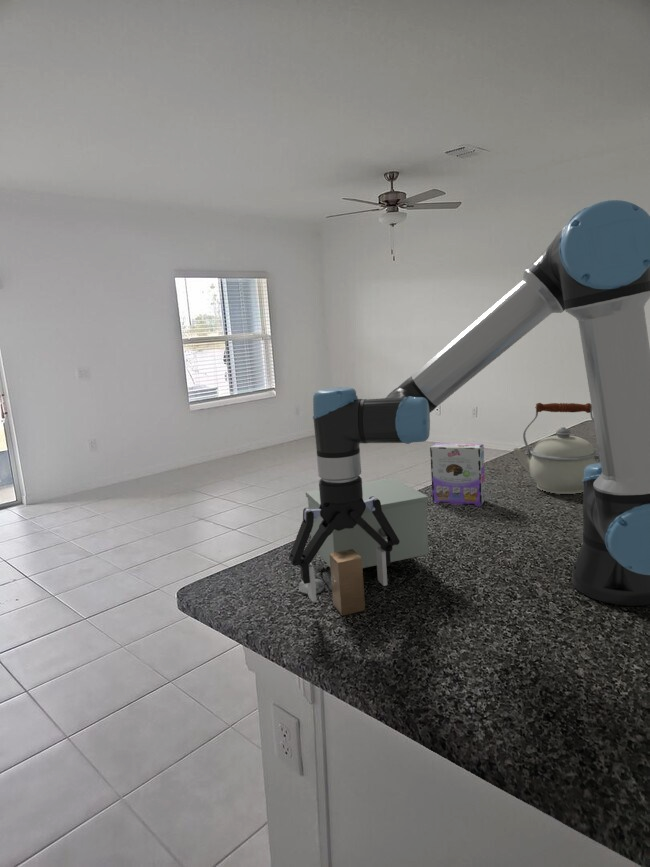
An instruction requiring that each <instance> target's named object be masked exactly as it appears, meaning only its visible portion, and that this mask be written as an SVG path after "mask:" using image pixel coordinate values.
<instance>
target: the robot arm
mask: <svg viewBox="0 0 650 867" xmlns="http://www.w3.org/2000/svg"><path fill="white" fill-rule="evenodd" d="M649 300H650V214H649V213H648V212H647V211H646V210H645V209H643V208H642V207H640V206H638V205H637V204H635V203H633V202H629V201H626V200H622V199H620V200H619V199H612V200H611V199H609V200H604V201H603V200H602V201H600V202H597V203H593V204H592V205H590V206H587V207H583V209H581V210H579V211H578V212H576V214H574V215H573V216H572V217H571V218H570V219H569V220H568V221H567V223H566V224H565V226H564V227H563V228H562V229H561V230H560V231H559V232H558V233H557V234H556V236H555V237H554V239H553V240H552V241H551V242H550V244H549V245H548V247H546V249H545V250H544V251H543V252H542V253H541V254H540V255H539V257H537V258H536V259H535V260H534V262H532V263H531V264H530V265H528V267H526V268H524V270H523V276H522V280H521V281H520V282H518V283H517V284H516V285H515V286H513V287H512V288H511V289H510V290H509V291H508V292H507V293H505V294H503V296H501V298H500V299H499V300H497V301H496V302H495V303H493V305H491V306H490V307H489V308H488V309H487V310H486V311H484V313H482V314H481V315H480V316H479V317H477V318H476V319H475V320H474V321H473V322H472V323H471V324H469V325H468V326H467V327H466V328H465V329H464V330H462V331H461V332H460V333H459V334H458V335H457V336H455V337H454V338H453V339H452V340H451V341H449V343H448V344H446V345H445V346H444V347H443V348H441V349H440V350H439V351H438V352H437V353H435V355H434V356H433V357H431V358H430V359H429V360H428V361H426V362H425V363H424V364H423V365H422V366H421V367H420V368H418V369H417V370H416V371H415V372H414V373H413V374H411V375H410V377H408V378H407V379H406V380H404V381H403V382H402V383H401V384H399V385H398V387H396V388H394V389H393V390H391V392H390V393H389V394H388V395H387V396H386V397H385V398H381V397H380V398H370V399H369V398H368V399H367V398H364V399H363V398H358V395H357V391H356V390H355V388H353V387H349V386H348V387H343V386H341V387H330V388H329V387H328V388H323V389H319V390H317V391H316V392H314V395H313V397H312V400H313V401H312V402H313V403H312V404H313V409H312V410H313V412H312V413H313V416H312V420H313V428H314V439H315V447H316V461H317V474H318V478H320V479H319V480H318V487H319V488H318V490H319V491H320V502H321V504H320V507H319V509H309V507H304V508H303V509H302V522H301V524H300V527H299V529H298V532H297V535H296V537H295V540H294V543H293V546H292V549H291V551H290V552H289V553H290V554H289V556H288V559H289V561H290V562H291V564H292V565H293V566H294V567H296V566H299V569H300V578H301V580H302V581H303V582H304V583H305V584H306V583H307V587H308V594H307V596H308V597H309V599H310V600H311V602H312V603H315V602H317V601H318V600H317V594H316V587H315V579H316V578H315V567H314V566H315V565H313V564H312V561H313V560H314V558H315V557H316V556H317V554H318V551H319V549H320V548H321V546H322V545H323V543H324V542H325V540H326V539H327V537H328V536H329V535H331V533H332V532H333V530H337V531H340V530H343V529H345V528H349V529H350V528H354V526H355V525H356V524H358V525H359V526H360V527H361V528H363V529H364V530H365V531H366V532H367V533H368V534H369V535H370V536H371V537H372V538H373V539H374V540H375V541H376V542H377V543H378V544H379V545H381V547H380V546H379V547H376V559H377V565H376V571H377V572H376V573H377V574H376V575H377V581H378V582H379V583H380V584H381V585H382V586H384V587H385V586H388V574H387V573H388V572H387V571H388V570H387V569H388V568H387V567H388V566H391V563H392V562H391V561H390V551H392V549H393V548H392V546H394V545H398V544H399V542H400V541H399V539H398V537H397V535H396V534H395V532H394V530H393V529H392V527H391V525H390V524H389V522H388V520H387V518H386V517H385V515H384V513H383V512H382V509H381V503H380V500H378V499H377V498H375V497H374V496H371V497H370V498H369V499H368V500H365V501H363V491H362V483H363V480H362V479H363V478H362V477H361V476H360V475H361V474H362V463H361V462H362V461H361V450H360V449H361V448H360V444H406V445H407V444H408V445H409V444H411V443H412V444H413V443H421V442H426V441H428V440H429V438H430V433H431V432H430V430H431V419H430V418H431V413H432V412H433V411H434V410H435V409H436V408H437V407H438V406H440V405H441V404H442V403H443V402H444V401H446V400H448V398H450V397H451V396H452V395H453V394H454V393H456V392H457V391H458V390H459V389H461V388H462V387H463V386H464V385H465V384H467V383H468V382H469V381H471V380H472V379H473V378H474V377H475V376H477V375H478V374H479V373H480V372H481V371H482V370H484V369H485V368H486V367H487V366H489V365H490V364H491V363H492V362H494V361H495V360H496V359H498V357H500V356H501V355H503V353H504V352H506V351H508V350H509V349H510V348H511V347H512V346H514V345H515V344H516V343H517V342H518V341H520V340H521V339H522V338H524V336H526V335H527V334H528V333H529V332H530V331H532V330H533V329H534V328H535V327H537V326H538V325H539V324H540V323H542V322H543V321H544V320H545V319H546V318H548V317H549V316H550V315H552V314H553V313H554V314H555V313H556V314H562V313H563V312H566V313H568V314H569V315H570V316H572V317H574V318H575V319H576V320H577V322H578V328H579V334H580V340H581V348H582V352H583V359H584V360H583V361H584V364H585V365H584V366H585V371H586V378H587V385H588V392H589V398H590V404H591V405H592V416H593V418H594V422H593V423H594V428H595V430H594V431H595V435H596V441H597V442H596V443H597V448H598V449H597V450H598V456H599V455H600V462H597V463H594V464H590V465H588V466H587V467H586V468H585V470H584V479H583V480H582V483H583V493H582V494H583V498H582V499H583V500H582V503H583V504H582V505H583V507H582V508H583V509H582V511H583V512H582V544H581V546H580V548H579V552H578V555H577V558H576V561H575V563H574V564H573V567H572V571H571V572H572V573H571V582H572V586H573V587H574V589H576V590H577V591H578V592H580V593H581V594H582V595H584V596H587V597H588V598H591V599H593V600H597V601H600V602H604V603H606V604H607V603H608V604H612V605H617V606H618V605H619V606H625V607H626V606H627V607H629V606H630V607H639V606H648V605H650V340H649V333H648V332H649V331H648V326H647V318H646V313H645V312H646V311H645V306H646V303H647V302H648V301H649ZM366 507H367V508H368V509H369V510H370V511H372V513H373V515H374V516H375V518H376V520H377V521H378V523H379V525H380V526H381V528H382V530H383V531H384V533H385V535H386V536H387V538H386V539H383V538H382V537H381V536H380V535H379V534H378V533H377V532H376V531H375V530H374V529H373V528H372V527H371V526H370V525H369V524H368V523H367V522H366V521H365V520H364V519H363V518H362V517H361V516H362V514H363V512H364V511H365V509H366ZM318 516H321V517H322V518H323V520H322V522H321V524H320V525H319V529H318V530H317V532H316V533H315V535H314V536H313V538H312V539H311V538H310V536H311V530H312V527H313V522H315V521H316V520H317V517H318ZM309 538H310V541H309ZM308 541H309V543H308ZM307 543H308V544H307Z"/></svg>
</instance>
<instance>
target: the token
mask: <svg viewBox="0 0 650 867" xmlns="http://www.w3.org/2000/svg"><path fill="white" fill-rule="evenodd" d="M315 587H316V595H317V594H320V593H321V592H323V590H325V581H324V580H323V579H319V578H315ZM298 591H299V592H300V593H302V594H304V595H308V587H307V583H306V584H305V583H304V582H303V580H302V581H301V582H299V583H298Z"/></svg>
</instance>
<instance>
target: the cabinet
mask: <svg viewBox="0 0 650 867" xmlns="http://www.w3.org/2000/svg"><path fill="white" fill-rule="evenodd" d="M362 491H363V501H365V500H368V499H369V498H370V497H371V496H374V497H375V498H377V499H378V500H380V503H381V509H382V512H383V513H384V515H385V517H386V518H387V520H388V522H389V524H390V525H391V527H392V529H393V530H394V532H395V534H396V535H397V537H398V539H399V541H400V542H399V544H398V545H394V546H392V548H393V549H392V551H390V561H391V563H393V562H397V561H402V560H406V559H407V560H408V559H412V558H417V557H421V556H422V557H423V556H425V555H427V556H428V555H429V553H430V552H429V534H428V531H429V529H428V509H427V508H428V504H427V502H429V496H428V495H426V494H425V493H422V492H421V491H419V490H417V489H415V488H413V487H412V486H410V485H408V484H405V483H404V482H402V481H400V480H398V479H396V478H394V477H390V478H389V477H388V478H382V479H377V480H370V481H365V482H363V481H362ZM305 497H306V498H307V505H308V507H307V508H309V509H319V507H320V504H321V502H320V491H319V489H314V490H309V491H305ZM361 517H362V518H363V519H364V520H365V521H366V522H367V523H368V524H369V525H370V526H371V527H372V528H373V529H374V530H375V531H376V532H377V533H378V534H379V535H380V536H381V537H382V538H383V539H386V538H387V536H386V535H385V533H384V531H383V530H382V528H381V526H380V525H379V523H378V521H377V520H376V518H375V516H374V515H373V513H372V511H370V510H369V509H368V508H367V507H366V509H365V511H364V512H363V514H362V516H361ZM322 520H323V518H322V517H321V516H318V517H317V520H316V521H315V522H313V527H312V530H311V533H310V540H311V539H312V538H313V536H314V535H315V533H316V532H317V530H318V529H319V525H320V524H321V522H322ZM379 546H380V547H381V545H379V544H378V543H377V542H376V541H375V540H374V539H373V538H372V537H371V536H370V535H369V534H368V533H367V532H366V531H365V530H364V529H363V528H361V527H360V526H359V525H358V524H356V525H355V526H354V528H350V529H349V528H345V529H343V530H340V531H337V530H333V532H332V533H331V535H329V536H328V537H327V539H326V540H325V542H324V543H323V545H322V546H321V548H320V549H319V551H318V552H317V554H318V555H319V556H320V557H321V558H322V559H323V561H324V562H325V563H326V564H327V565H328V567H330V555H329V554H330V553H335V552H340V551H345V550H350V549H353V550H354V551H355V552H356V553H357V554H358V555H359V556H360V557H362V569H366V568H371V567H374V566H377V559H376V547H379Z"/></svg>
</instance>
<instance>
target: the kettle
mask: <svg viewBox="0 0 650 867" xmlns="http://www.w3.org/2000/svg"><path fill="white" fill-rule="evenodd" d="M541 412H549V413H581V412H585V413H586V414H587V413H588V414H590V419H591V421H592V422H593V423H594V417H593V411H592V405H591V402H589V403H585V404H582V403H575V402H574V403H573V402H571V403H570V402H569V403H568V402H566V403H565V402H563V403H562V402H561V403H558V402H557V403H556V402H554V403H553V402H550V403H541V402H537V403H536V404H535V417H534V418H533V419H532V421H531V422H530V423H528V425H527V426H526V428H525V429H524V431H523V434H522V435H523V436H522V437H523V442H524V445H525V447H526V450H527V452H525V454H524V453H523V451H522V450H521V448H520V447H516V448H512V450H513V452H514V454H515V456H516V457H517V459H518V460H519V462H520V464H521V465H522V466H523V468H525V469H526V471H528V472H529V475H530V476H531V478H532V480H533V481H534V482H535V483H537V484H536V487H537V488H538V489H539V490H540V491H542V490H543V491H542V492H544V491H546V492H545V493H547V492H550V493H549V494H552V493H556V494H555V495H560V494H574V495H576V494H575V493H580V492H583V483H582V480H583V479H584V470H585V468H586V467H587V466H588V465H590V464H594V463H601V462H600V455H599V452H598V451H597V450H596V449H595V448H594V446H593V445H592V444H591V442H590V441H589V440H586V439H585V438H581V437H579V436H575V435H571V434H572V432H571V430H569V429H568V428H567V427H566V426H565V427H564V426H563V427H561V428H559V429H557V430H556V431H555V434H556V435H552V436H546V437H544V438H542V439H540V440H539V441H537V442H536V444H535V445H534V447H533V448H532V449H531V448H530V446H529V444H528V441H527V437H526V432H527V431H528V429H529V427H530V426H531V425H532V423H534V421H535V420H536V419H537V417H538V415H539V413H541ZM597 455H598V456H597Z"/></svg>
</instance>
